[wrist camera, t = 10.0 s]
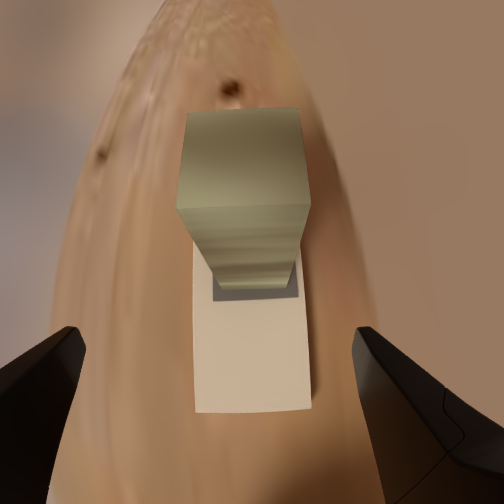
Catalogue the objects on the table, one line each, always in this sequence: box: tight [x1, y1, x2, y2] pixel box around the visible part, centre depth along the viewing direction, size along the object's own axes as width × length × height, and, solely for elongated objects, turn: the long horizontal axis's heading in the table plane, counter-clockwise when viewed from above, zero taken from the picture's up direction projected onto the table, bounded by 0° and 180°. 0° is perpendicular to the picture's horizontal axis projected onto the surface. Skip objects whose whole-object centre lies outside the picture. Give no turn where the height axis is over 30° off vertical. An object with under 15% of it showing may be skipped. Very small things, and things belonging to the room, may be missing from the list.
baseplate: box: [193, 241, 311, 413], centre depth 22 cm, size 16×8×1 cm, turn 2°
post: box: [176, 108, 311, 290], centre depth 17 cm, size 4×4×12 cm
